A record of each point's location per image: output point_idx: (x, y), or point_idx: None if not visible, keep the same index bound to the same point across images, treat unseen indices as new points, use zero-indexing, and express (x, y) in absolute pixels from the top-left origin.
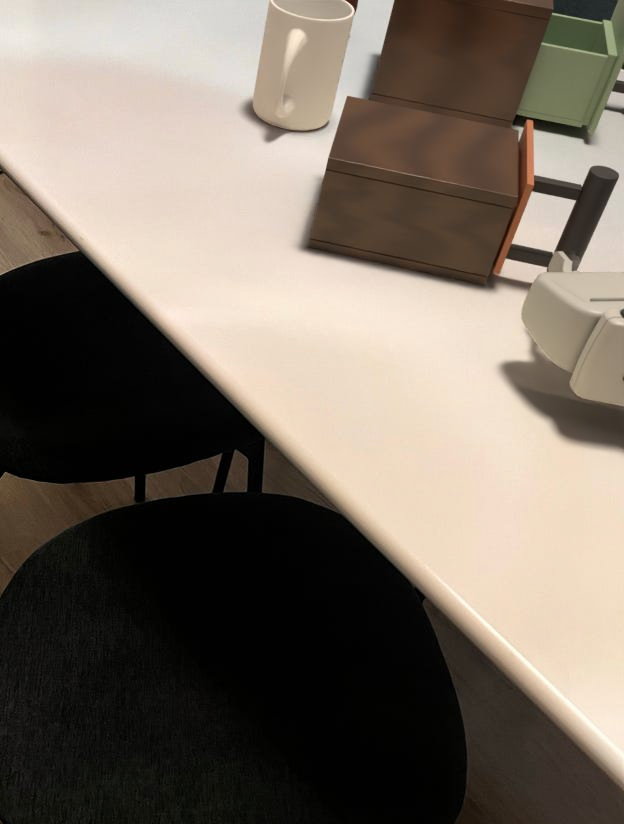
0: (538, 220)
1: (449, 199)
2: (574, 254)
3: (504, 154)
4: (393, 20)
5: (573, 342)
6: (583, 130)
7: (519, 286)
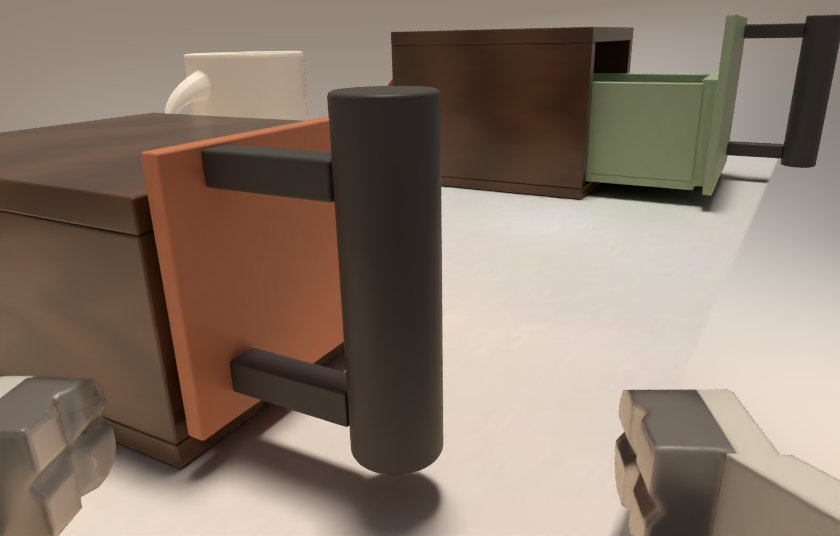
0: (522, 310)
1: (16, 225)
2: (59, 394)
3: None
4: (396, 81)
5: None
6: (707, 199)
7: (293, 478)
